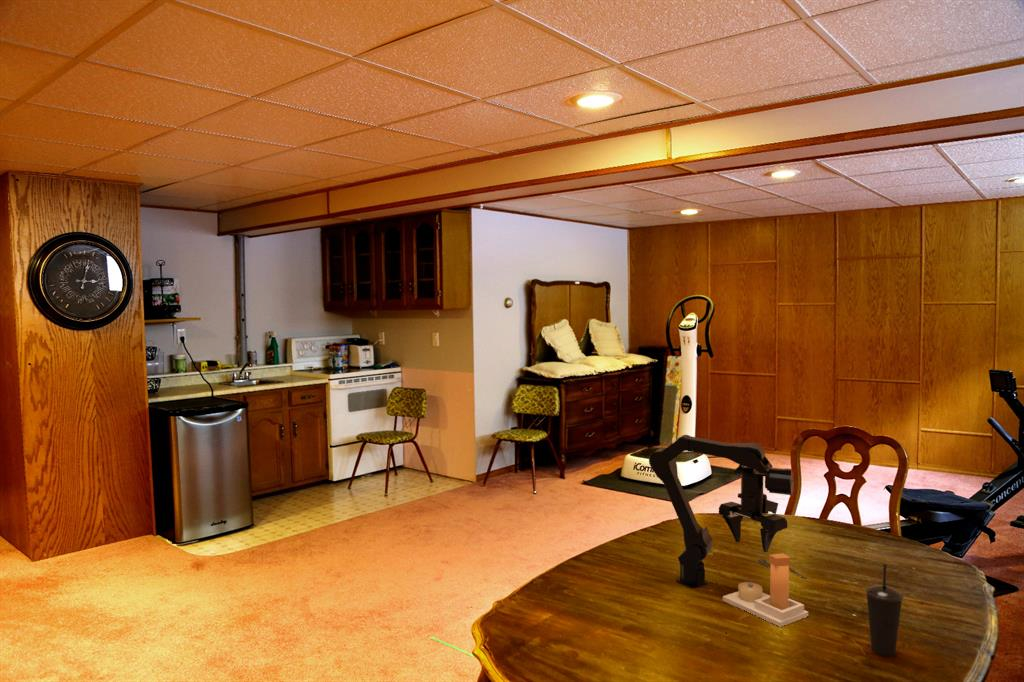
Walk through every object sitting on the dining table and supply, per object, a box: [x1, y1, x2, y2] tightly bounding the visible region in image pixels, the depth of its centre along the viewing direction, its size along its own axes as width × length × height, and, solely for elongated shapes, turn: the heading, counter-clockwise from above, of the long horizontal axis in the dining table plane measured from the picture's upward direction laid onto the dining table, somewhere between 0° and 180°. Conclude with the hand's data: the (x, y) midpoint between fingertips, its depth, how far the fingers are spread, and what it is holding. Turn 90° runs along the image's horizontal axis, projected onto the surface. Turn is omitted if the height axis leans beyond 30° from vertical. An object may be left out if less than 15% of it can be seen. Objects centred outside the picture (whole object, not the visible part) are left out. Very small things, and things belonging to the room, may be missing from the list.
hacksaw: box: [758, 558, 835, 587], centre depth 204 cm, size 24×10×2 cm, turn 14°
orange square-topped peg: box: [768, 552, 791, 610], centre depth 177 cm, size 4×4×14 cm
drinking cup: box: [865, 564, 904, 657], centre depth 159 cm, size 8×8×20 cm
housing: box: [722, 581, 809, 628], centre depth 181 cm, size 18×11×5 cm, turn 32°
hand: (751, 546), depth 190 cm, fingers open, 9 cm apart
